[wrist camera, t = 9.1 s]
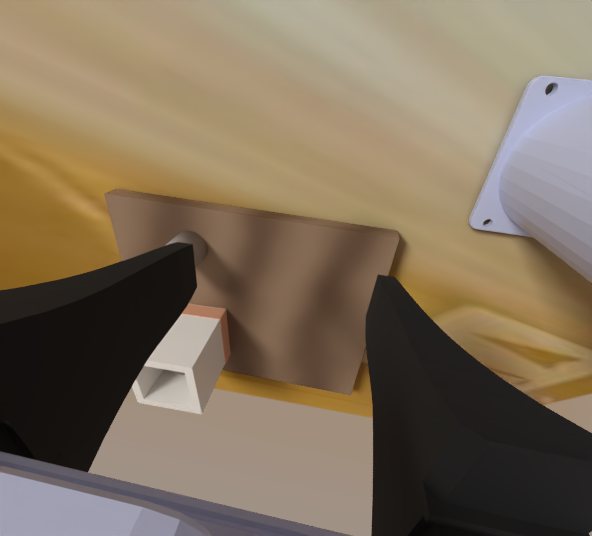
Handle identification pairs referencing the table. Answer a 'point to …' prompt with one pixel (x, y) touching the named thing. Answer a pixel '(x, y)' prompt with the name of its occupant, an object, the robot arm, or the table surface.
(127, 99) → the table surface
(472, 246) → the table surface
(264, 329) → the pin board
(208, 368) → the sleeve
